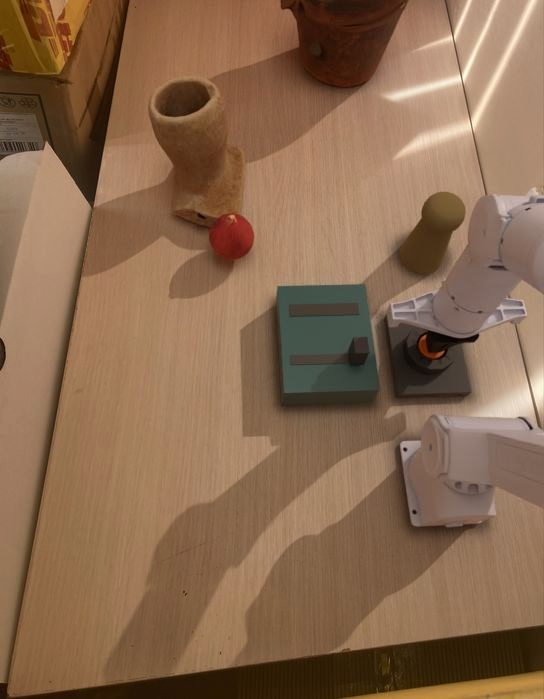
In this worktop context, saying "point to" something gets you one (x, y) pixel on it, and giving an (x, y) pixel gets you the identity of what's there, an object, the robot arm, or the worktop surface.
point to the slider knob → (358, 350)
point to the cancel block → (424, 366)
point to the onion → (231, 236)
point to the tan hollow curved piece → (198, 149)
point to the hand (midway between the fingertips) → (432, 345)
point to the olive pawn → (432, 233)
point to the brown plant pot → (344, 36)
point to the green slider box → (324, 345)
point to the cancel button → (424, 352)
